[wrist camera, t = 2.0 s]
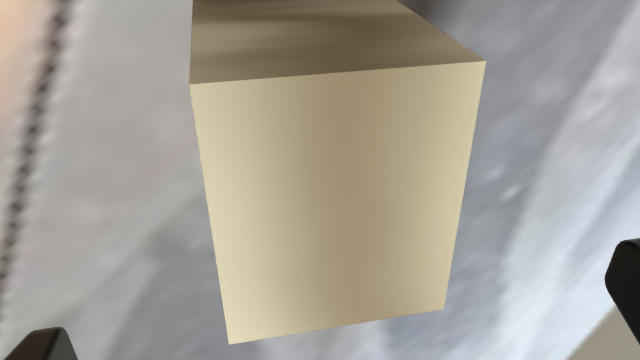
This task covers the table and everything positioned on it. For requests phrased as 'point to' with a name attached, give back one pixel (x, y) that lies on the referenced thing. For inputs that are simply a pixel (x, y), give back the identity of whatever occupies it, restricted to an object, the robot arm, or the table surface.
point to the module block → (330, 158)
